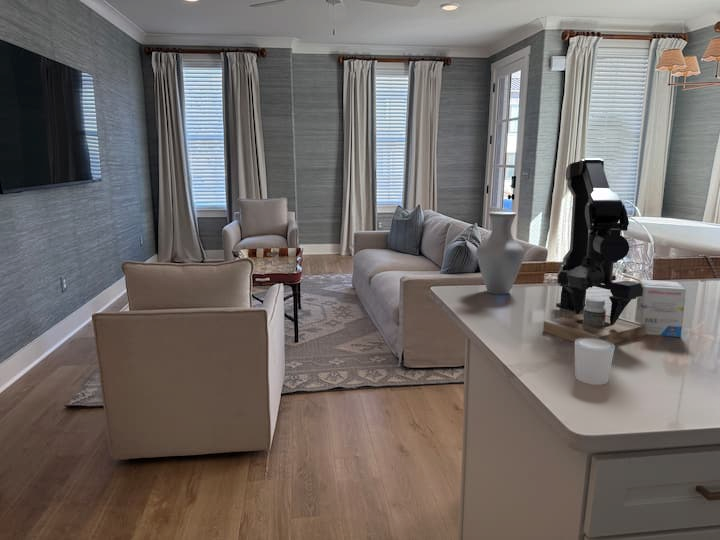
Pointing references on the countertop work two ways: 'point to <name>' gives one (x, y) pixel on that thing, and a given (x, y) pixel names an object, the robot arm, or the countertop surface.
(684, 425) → the countertop surface
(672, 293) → the ink box
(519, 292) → the countertop surface
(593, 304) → the pill bottle
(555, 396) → the countertop surface
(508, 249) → the vase
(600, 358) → the white short tapered cylinder
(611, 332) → the walnut jig
